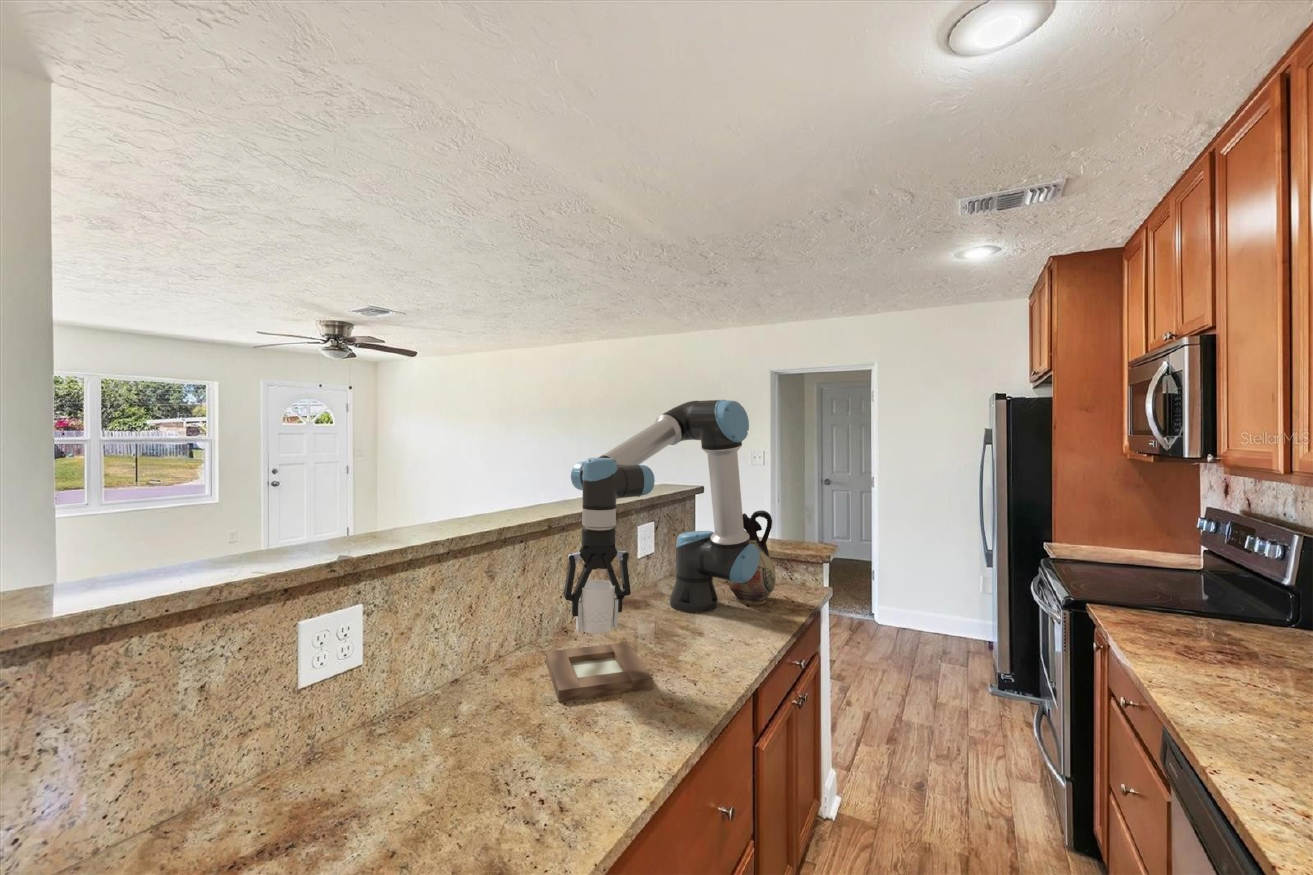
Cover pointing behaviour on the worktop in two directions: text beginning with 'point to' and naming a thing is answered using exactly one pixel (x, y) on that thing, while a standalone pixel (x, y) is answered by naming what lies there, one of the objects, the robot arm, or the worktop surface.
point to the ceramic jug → (765, 573)
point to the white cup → (597, 606)
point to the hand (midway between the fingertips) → (596, 628)
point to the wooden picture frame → (596, 671)
